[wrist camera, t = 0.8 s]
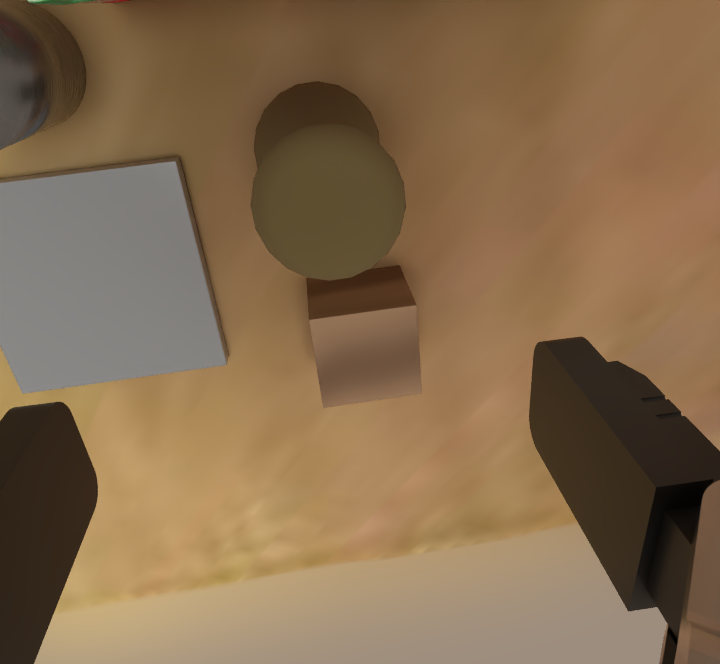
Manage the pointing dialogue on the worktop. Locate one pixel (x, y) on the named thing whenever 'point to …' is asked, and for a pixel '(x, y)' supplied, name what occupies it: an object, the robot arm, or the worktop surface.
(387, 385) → the walnut block
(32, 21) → the metal tin
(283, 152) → the brown rounded figure
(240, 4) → the worktop surface
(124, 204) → the slate tile
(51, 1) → the stack of blocks
